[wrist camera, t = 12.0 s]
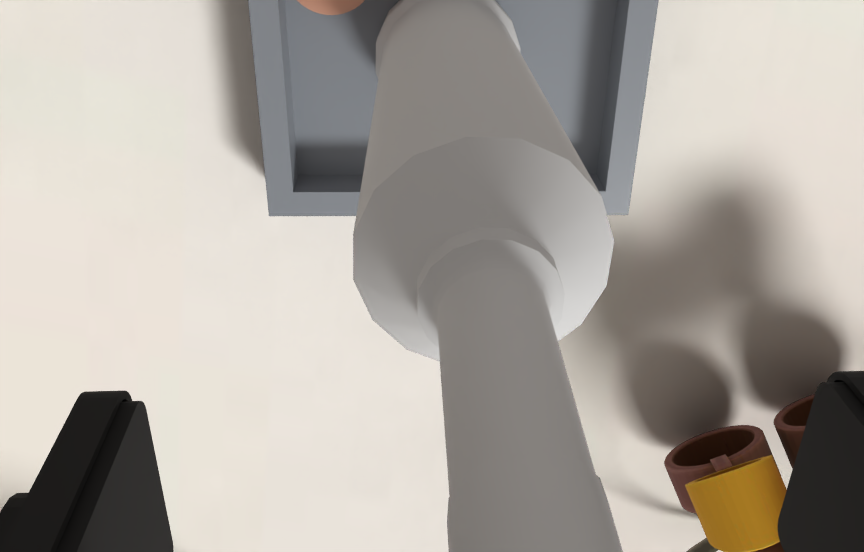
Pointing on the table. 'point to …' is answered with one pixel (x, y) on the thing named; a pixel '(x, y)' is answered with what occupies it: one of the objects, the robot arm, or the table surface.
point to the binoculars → (737, 481)
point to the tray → (357, 84)
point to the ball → (331, 6)
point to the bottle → (486, 270)
